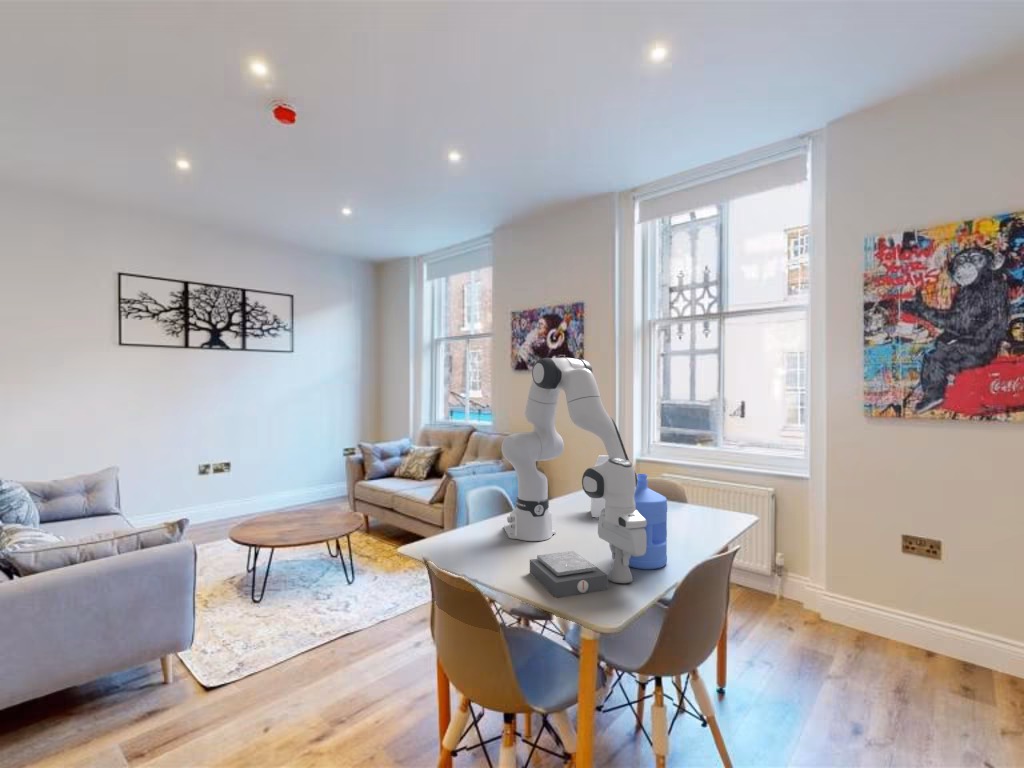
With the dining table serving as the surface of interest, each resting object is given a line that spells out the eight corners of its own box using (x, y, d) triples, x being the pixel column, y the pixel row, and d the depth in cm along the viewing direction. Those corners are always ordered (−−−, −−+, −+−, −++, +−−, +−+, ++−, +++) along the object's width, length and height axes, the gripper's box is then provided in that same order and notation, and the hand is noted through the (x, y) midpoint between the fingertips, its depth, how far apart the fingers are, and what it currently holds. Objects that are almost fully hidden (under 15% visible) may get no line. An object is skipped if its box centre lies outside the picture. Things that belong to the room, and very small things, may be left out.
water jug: (611, 553, 163) (611, 470, 164) (656, 552, 164) (657, 470, 165) (624, 570, 148) (625, 479, 148) (674, 570, 149) (675, 479, 149)
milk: (617, 511, 218) (617, 454, 218) (620, 518, 206) (621, 457, 206) (590, 511, 219) (590, 453, 219) (592, 517, 207) (592, 457, 207)
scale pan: (537, 558, 145) (537, 555, 145) (572, 554, 150) (572, 550, 150) (557, 576, 132) (557, 572, 132) (595, 570, 136) (595, 566, 136)
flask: (629, 575, 144) (629, 541, 145) (636, 584, 137) (635, 548, 138) (605, 575, 144) (605, 541, 145) (611, 584, 137) (610, 548, 137)
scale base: (529, 572, 146) (529, 559, 146) (576, 566, 151) (576, 553, 151) (556, 598, 128) (556, 583, 128) (608, 590, 134) (609, 575, 134)
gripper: (592, 507, 150) (592, 552, 150) (631, 524, 131) (631, 575, 131) (610, 505, 152) (610, 549, 152) (650, 522, 133) (650, 572, 133)
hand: (620, 562), depth 141 cm, fingers open, 3 cm apart
